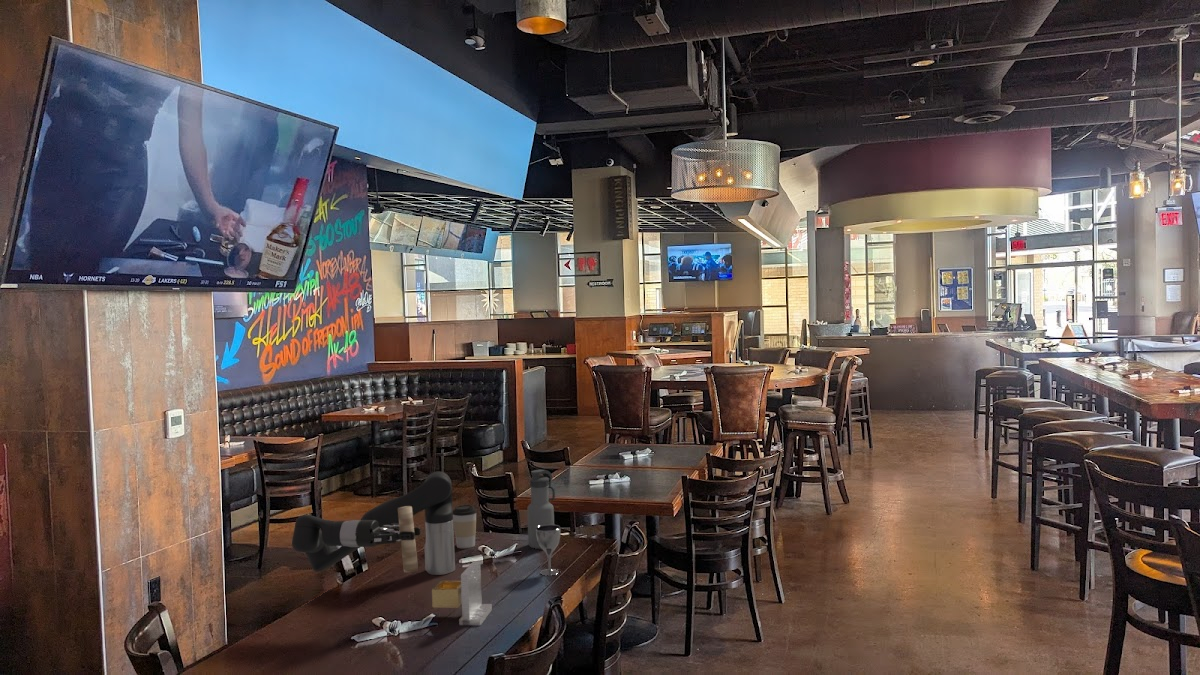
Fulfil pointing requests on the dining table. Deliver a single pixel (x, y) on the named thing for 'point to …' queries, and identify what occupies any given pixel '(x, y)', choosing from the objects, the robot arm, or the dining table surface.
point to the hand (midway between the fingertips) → (416, 533)
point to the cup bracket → (463, 596)
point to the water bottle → (539, 504)
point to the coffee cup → (465, 525)
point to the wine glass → (548, 544)
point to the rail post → (407, 545)
